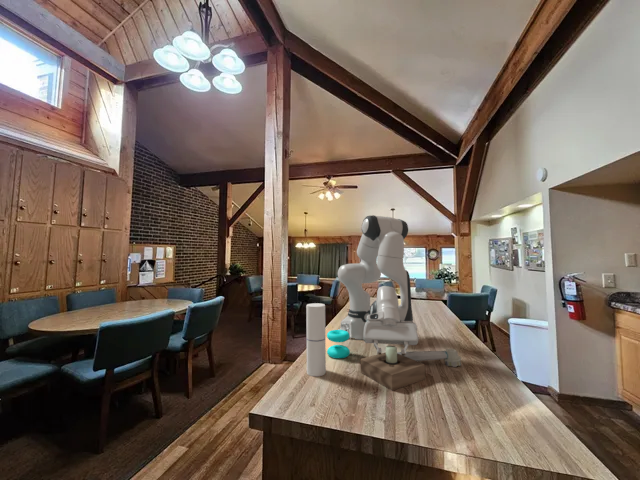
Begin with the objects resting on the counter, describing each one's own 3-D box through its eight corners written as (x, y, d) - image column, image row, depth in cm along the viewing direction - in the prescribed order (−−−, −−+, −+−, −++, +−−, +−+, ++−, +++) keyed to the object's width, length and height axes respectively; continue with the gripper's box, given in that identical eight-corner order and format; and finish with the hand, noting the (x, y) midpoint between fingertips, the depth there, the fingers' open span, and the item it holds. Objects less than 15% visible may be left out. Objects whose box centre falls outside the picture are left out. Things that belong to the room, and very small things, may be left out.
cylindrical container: (303, 374, 101) (303, 306, 103) (310, 367, 108) (310, 302, 109) (321, 377, 99) (321, 307, 100) (328, 369, 106) (327, 303, 107)
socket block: (360, 372, 103) (360, 358, 103) (391, 363, 111) (391, 350, 111) (392, 390, 89) (391, 374, 89) (425, 378, 97) (424, 364, 98)
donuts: (340, 327, 128) (354, 332, 120) (340, 349, 128) (354, 356, 119) (322, 331, 123) (335, 336, 114) (322, 354, 122) (336, 361, 114)
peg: (383, 374, 101) (383, 347, 101) (391, 372, 103) (391, 345, 103) (391, 379, 97) (391, 350, 98) (400, 376, 99) (399, 348, 100)
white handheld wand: (393, 350, 116) (456, 344, 112) (396, 366, 116) (459, 361, 111) (395, 354, 111) (460, 349, 107) (397, 371, 110) (463, 366, 106)
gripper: (415, 325, 110) (420, 359, 100) (363, 323, 114) (363, 356, 104) (416, 316, 106) (422, 351, 96) (363, 315, 110) (363, 348, 99)
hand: (391, 354), depth 100 cm, fingers open, 7 cm apart
